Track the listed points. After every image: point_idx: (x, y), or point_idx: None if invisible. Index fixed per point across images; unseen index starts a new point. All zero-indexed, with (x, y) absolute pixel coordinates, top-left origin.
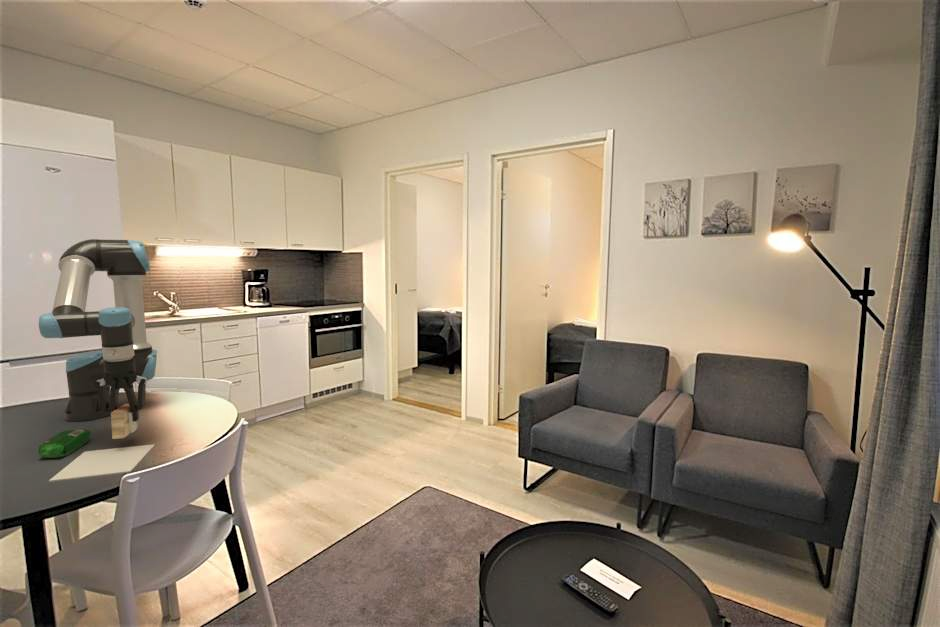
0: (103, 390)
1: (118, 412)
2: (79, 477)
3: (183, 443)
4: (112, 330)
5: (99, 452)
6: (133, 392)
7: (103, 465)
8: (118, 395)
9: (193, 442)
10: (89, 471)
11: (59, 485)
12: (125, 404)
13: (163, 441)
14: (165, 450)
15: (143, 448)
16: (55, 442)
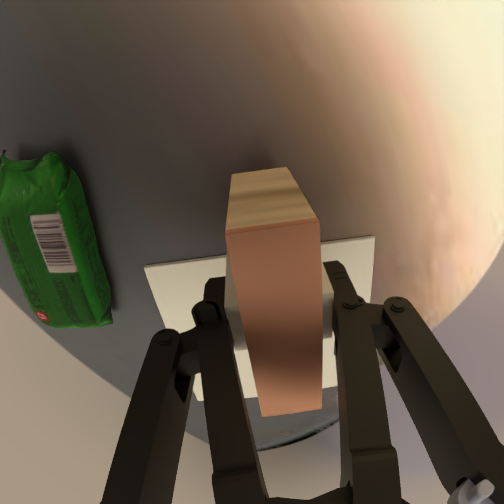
0: (164, 501)
1: (299, 410)
2: (256, 395)
3: (452, 231)
4: None
5: (203, 282)
6: (383, 425)
7: None
8: (246, 419)
9: (475, 228)
10: None
11: None
12: (245, 267)
13: (391, 199)
14: (412, 278)
15: (347, 269)
16: (70, 323)
